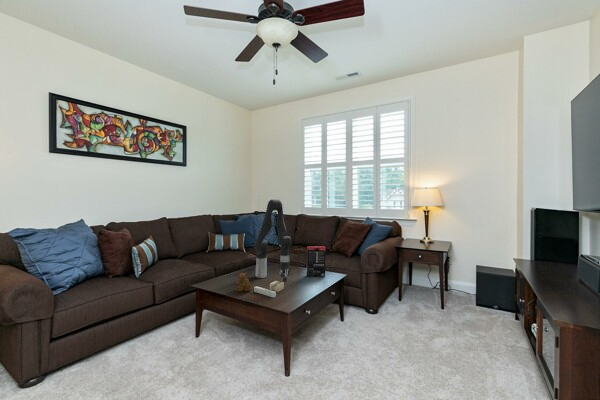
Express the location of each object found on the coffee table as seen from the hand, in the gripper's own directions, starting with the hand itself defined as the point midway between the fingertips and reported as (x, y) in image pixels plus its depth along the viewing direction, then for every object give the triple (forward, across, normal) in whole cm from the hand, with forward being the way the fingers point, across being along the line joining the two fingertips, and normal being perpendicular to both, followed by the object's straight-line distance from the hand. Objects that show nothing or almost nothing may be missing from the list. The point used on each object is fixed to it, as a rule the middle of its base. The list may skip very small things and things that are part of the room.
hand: (284, 281), depth 228 cm
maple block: (+4, +10, 0) cm, 10 cm away
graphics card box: (+4, -38, +5) cm, 39 cm away
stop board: (+4, +23, 0) cm, 23 cm away
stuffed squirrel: (+4, +26, -19) cm, 33 cm away
